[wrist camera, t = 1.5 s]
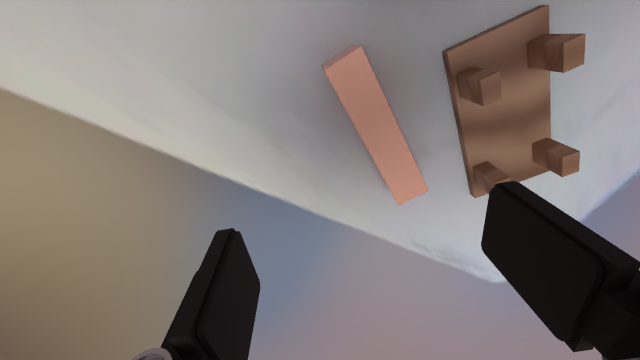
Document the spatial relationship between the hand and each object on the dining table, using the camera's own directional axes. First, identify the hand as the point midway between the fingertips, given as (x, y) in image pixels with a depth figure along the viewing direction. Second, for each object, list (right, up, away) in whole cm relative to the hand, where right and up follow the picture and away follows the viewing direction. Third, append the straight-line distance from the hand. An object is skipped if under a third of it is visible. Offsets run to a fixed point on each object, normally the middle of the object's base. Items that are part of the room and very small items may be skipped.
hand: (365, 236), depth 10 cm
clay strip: (+4, +8, +19) cm, 21 cm away
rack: (+18, +9, +19) cm, 27 cm away
